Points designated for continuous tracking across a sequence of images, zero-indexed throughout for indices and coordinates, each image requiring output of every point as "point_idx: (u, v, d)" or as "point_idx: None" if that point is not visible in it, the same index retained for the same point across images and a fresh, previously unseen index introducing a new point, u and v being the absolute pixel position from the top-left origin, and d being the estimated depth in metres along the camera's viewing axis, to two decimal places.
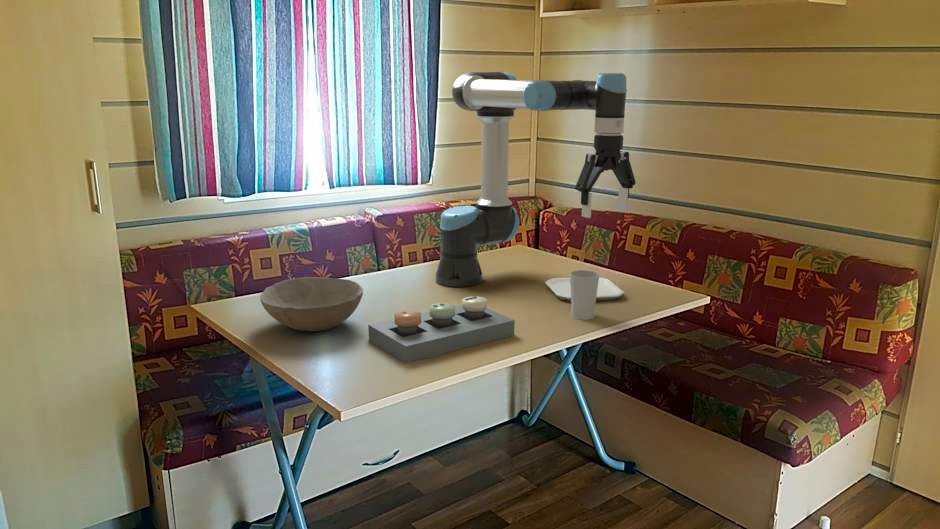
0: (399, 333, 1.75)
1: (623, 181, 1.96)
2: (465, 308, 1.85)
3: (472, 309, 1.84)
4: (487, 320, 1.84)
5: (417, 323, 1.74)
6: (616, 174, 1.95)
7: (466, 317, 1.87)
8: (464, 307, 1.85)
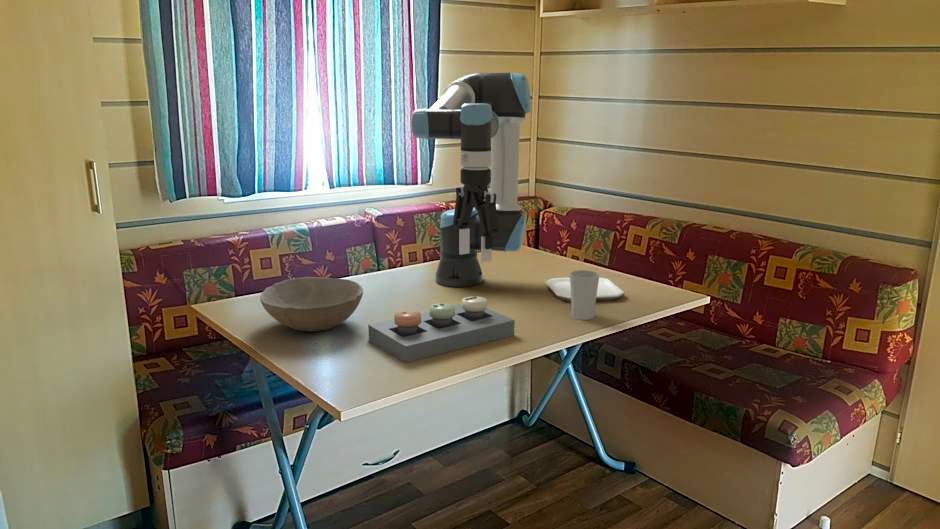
0: (399, 333, 1.75)
1: None
2: (465, 308, 1.85)
3: (472, 309, 1.84)
4: (487, 320, 1.84)
5: (417, 323, 1.74)
6: None
7: (466, 317, 1.87)
8: (464, 307, 1.85)
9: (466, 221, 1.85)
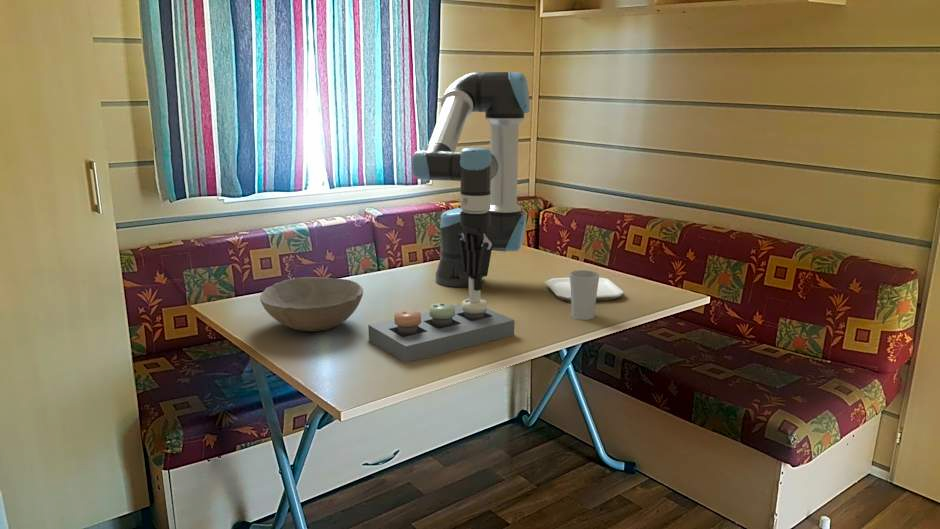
0: (399, 333, 1.75)
1: None
2: (465, 310, 1.85)
3: (472, 311, 1.84)
4: (487, 320, 1.84)
5: (417, 323, 1.74)
6: None
7: None
8: (464, 309, 1.86)
9: None
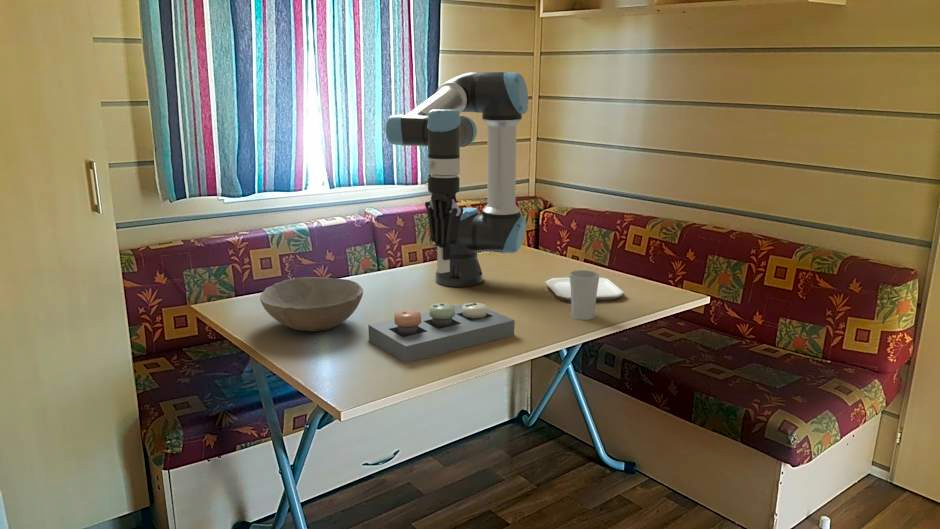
0: (399, 333, 1.75)
1: None
2: (465, 315, 1.86)
3: (472, 316, 1.85)
4: (487, 320, 1.84)
5: (417, 323, 1.74)
6: None
7: None
8: (464, 313, 1.86)
9: None
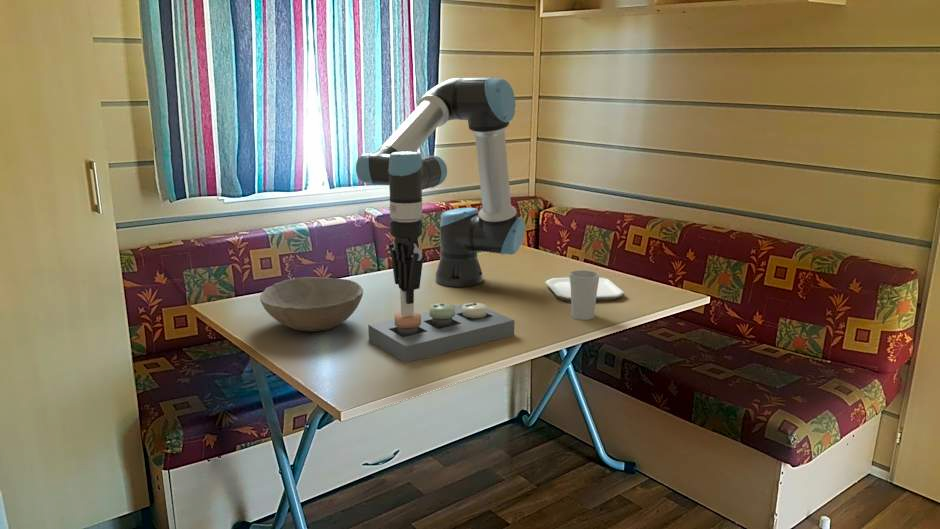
0: None
1: None
2: (465, 315, 1.86)
3: (472, 316, 1.85)
4: (487, 320, 1.84)
5: (417, 325, 1.74)
6: None
7: None
8: (464, 313, 1.86)
9: None
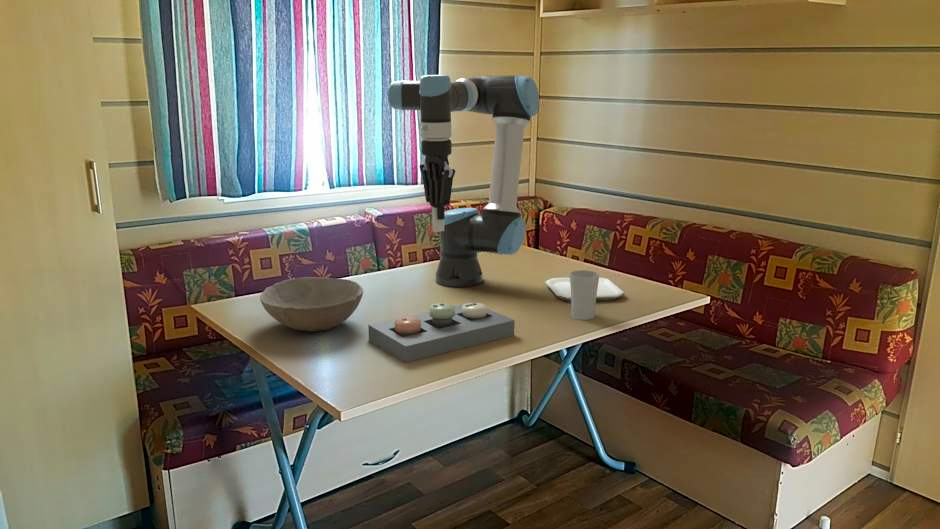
0: None
1: None
2: (465, 315, 1.86)
3: (472, 316, 1.85)
4: (487, 320, 1.84)
5: (417, 330, 1.75)
6: None
7: None
8: (464, 313, 1.86)
9: None
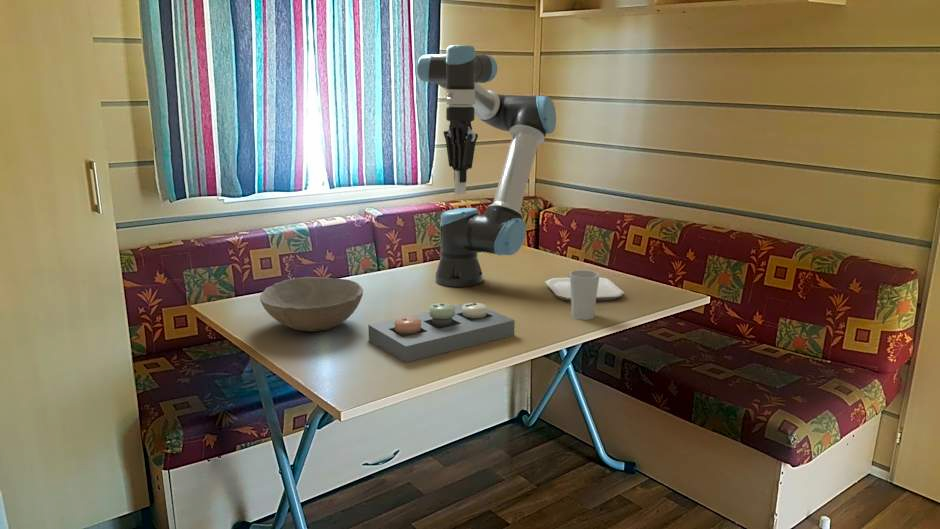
0: None
1: None
2: (465, 315, 1.86)
3: (472, 316, 1.85)
4: (487, 320, 1.84)
5: (417, 330, 1.75)
6: None
7: None
8: (464, 313, 1.86)
9: None
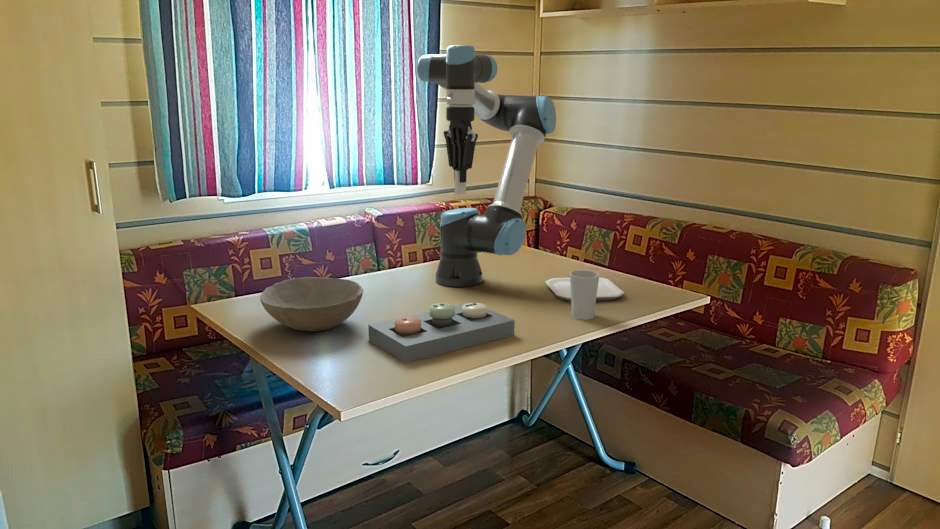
0: None
1: None
2: (465, 315, 1.86)
3: (472, 316, 1.85)
4: (487, 320, 1.84)
5: (417, 330, 1.75)
6: None
7: None
8: (464, 313, 1.86)
9: None
